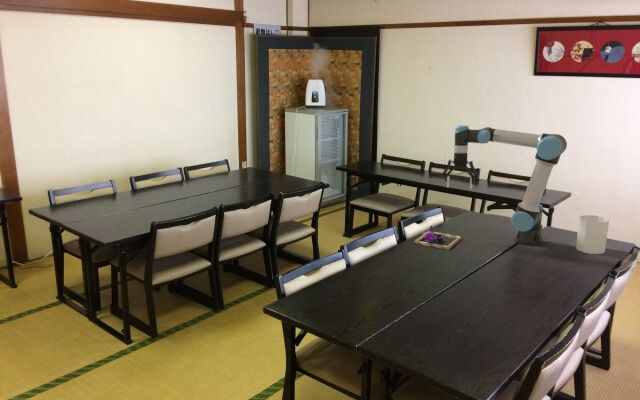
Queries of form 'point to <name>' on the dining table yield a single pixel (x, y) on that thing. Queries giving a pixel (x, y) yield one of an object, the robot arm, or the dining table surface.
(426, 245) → the pocket frame
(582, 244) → the container
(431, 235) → the toy
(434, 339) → the dining table surface
